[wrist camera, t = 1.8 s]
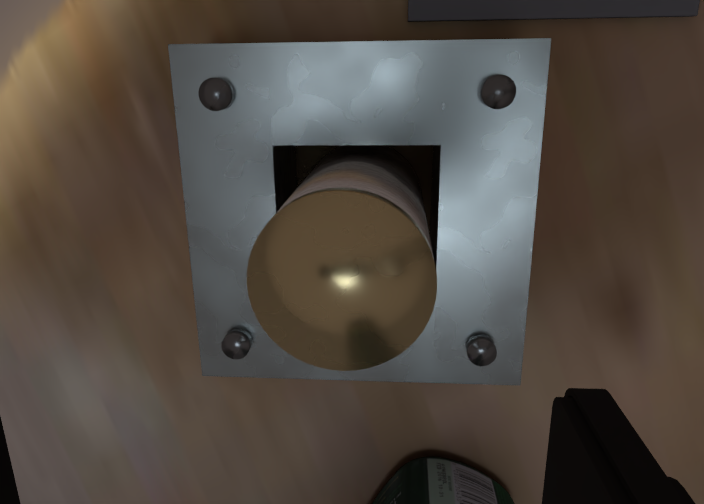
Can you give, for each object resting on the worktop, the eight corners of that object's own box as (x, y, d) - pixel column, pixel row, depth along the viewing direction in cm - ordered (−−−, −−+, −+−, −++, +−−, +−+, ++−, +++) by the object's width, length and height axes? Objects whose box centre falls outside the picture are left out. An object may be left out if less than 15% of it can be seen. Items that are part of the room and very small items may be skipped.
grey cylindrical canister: (423, 141, 27) (441, 192, 16) (420, 255, 28) (434, 373, 17) (304, 141, 27) (240, 191, 16) (308, 253, 29) (252, 368, 18)
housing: (522, 43, 25) (555, 37, 20) (500, 333, 29) (523, 392, 24) (209, 48, 26) (161, 43, 21) (233, 327, 30) (198, 382, 25)
